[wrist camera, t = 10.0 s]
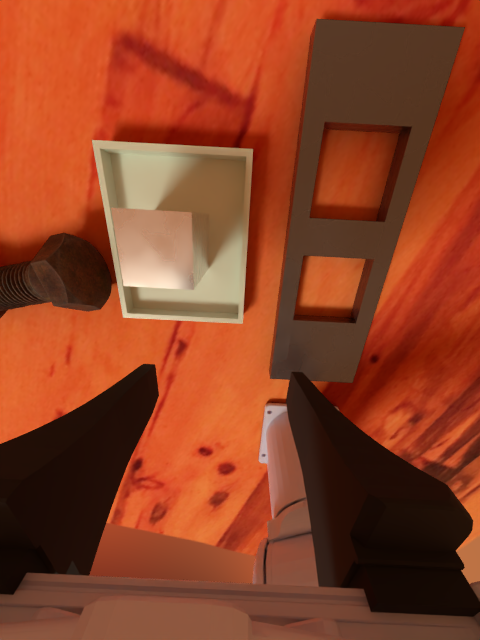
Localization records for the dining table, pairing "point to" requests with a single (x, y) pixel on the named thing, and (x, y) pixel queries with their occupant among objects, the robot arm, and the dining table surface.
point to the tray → (183, 196)
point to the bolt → (57, 277)
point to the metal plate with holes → (381, 236)
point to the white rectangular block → (161, 247)
